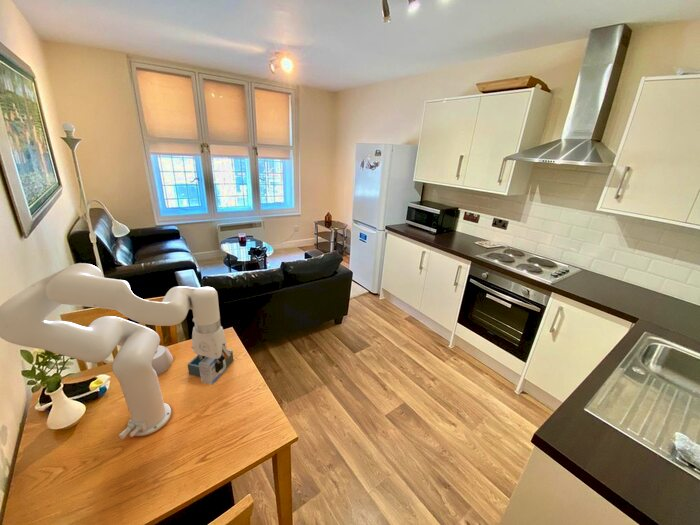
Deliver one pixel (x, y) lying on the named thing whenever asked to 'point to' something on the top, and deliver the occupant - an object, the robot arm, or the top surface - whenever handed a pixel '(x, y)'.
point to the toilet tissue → (161, 360)
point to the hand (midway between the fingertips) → (213, 367)
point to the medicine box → (210, 370)
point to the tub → (194, 365)
